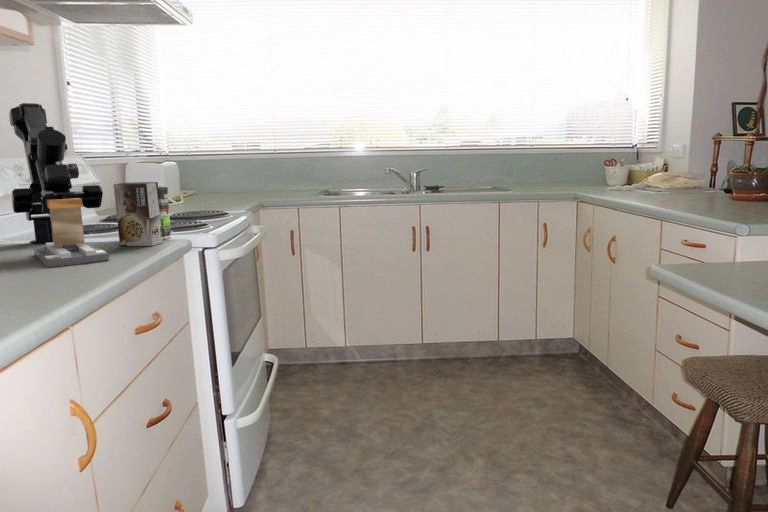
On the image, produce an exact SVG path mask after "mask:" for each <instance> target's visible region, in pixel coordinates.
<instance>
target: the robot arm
mask: <svg viewBox="0 0 768 512" xmlns="http://www.w3.org/2000/svg"><path fill="white" fill-rule="evenodd" d="M9 123H10V126H11V127H12V126H13V130H14V134H15V136H16V137H18V138H19V139H20V140H21V141H22V143H23V146H24V147H23V148H24V153H25V157H26V162H27V166H28V167H27V168H28V172H29V173H28V174H29V178H30V184H29V187H28V188H27V187H26V188H25V187H24V188H22V187H21V188H14V189H13V190H12V191H11V205H12V210H13V212H14V213H16V214H19V213H20V214H21V213H25V216H26V220H27V221H29V222H31V221H33V230H34V240H30V241H29V243H30V244H43V243H45V244H46V243H51V242H53V235H52V226H51V217H50V209H49V208H48V207H47V200H53V199H71V198H80V199H82V205H83V207H82V208H85V209H99V208H100V207H101V206H102V202H103V201H102V200H103V196H104V195H103V194H104V192H103V189H102V187H101V185H99V184H98V185H97V184H96V185H95V184H94V185H93V184H91V185H82V190H80V191H79V190H76V191H74V190H73V191H71V189H72V188H73V184H72V181H71V180H72V179H78V178H79V176H80V171H79V167H78V164H77V163H74V162H73V163H67V164H63V161H64V159H65V153H66V151H67V150H68V144H67V143H66V142H67V141H66V140H67V139H66V135H65V134H64V133H62V131H59V130H57V129H55V128H54V126H48V119H47V112H46V109H45V108H43V106H42V105H41V104H40V103H36V102H35V103H34V102H33V103H32V102H31V103H29V102H22V103H20V104H19V105H18V106H16V107H13V108H10V109H9ZM32 215H33V216H32Z"/></svg>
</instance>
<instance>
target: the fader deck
mask: <svg viewBox="0 0 768 512" xmlns="http://www.w3.org/2000/svg"><path fill="white" fill-rule="evenodd" d="M76 247H77V249H76V250H66V249H64V248H63V247H62V246H55V245H54V244H53V242H51V243H45V246H44V247H34V248H33V251H34V256H36V257H37V258H38V259H39V260H40V261H41V262H42V263H43V264H44V265H45V266H46V267H48V268H54V267H63V266H72V265H73V266H74V265H81V264H90V262H92V263H99V262H98V261H100V262H106V261H105V260H109V261H110V254H109V252H107V251H105V250H103V249H101V248H100V247H97V246H95V245H94V244H92V243H90V242H84V243H83V244H76Z"/></svg>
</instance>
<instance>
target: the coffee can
mask: <svg viewBox="0 0 768 512" xmlns="http://www.w3.org/2000/svg"><path fill="white" fill-rule="evenodd" d="M168 190H169V189H168V186H158V193H159V204H160V216H161V228H162V239H163V240H166V239H171V238H172V234H171V233H172V232H171V222H170V221H171V219H170V218H171V217H170V208H169V207H170V205H169V196H168V195H169V194H168V193H169V192H168Z"/></svg>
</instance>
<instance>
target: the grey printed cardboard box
mask: <svg viewBox="0 0 768 512" xmlns="http://www.w3.org/2000/svg"><path fill="white" fill-rule="evenodd" d="M112 186H113V191H114V201H115V210H116V211H115V212H116V221H117V228H118V229H117V231H118V241H119V246H120V245H127V246H126V247H153V246H157V245H160V244H162V243H163V242H164V239H162V228H161V216H160V204H159V193H158V187H159V184H158V181H137V182H135V181H133V182H132V181H130V182H120V183H119V182H118V183H113V185H112Z"/></svg>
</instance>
